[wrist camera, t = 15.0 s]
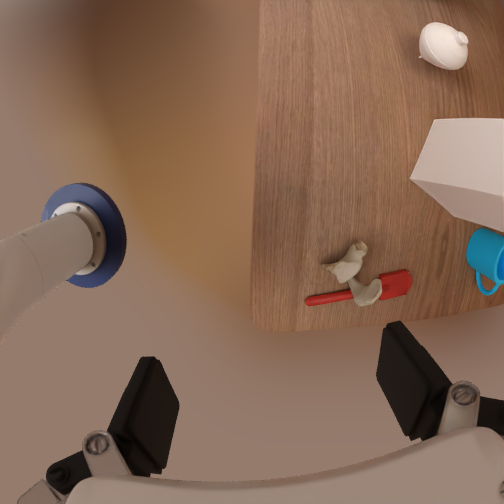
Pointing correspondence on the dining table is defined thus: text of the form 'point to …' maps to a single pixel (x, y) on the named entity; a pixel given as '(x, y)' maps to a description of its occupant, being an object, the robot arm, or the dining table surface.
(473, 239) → the mug
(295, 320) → the dining table surface
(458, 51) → the spinning top
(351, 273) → the bone
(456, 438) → the robot arm
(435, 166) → the milk
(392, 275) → the red toy shovel
